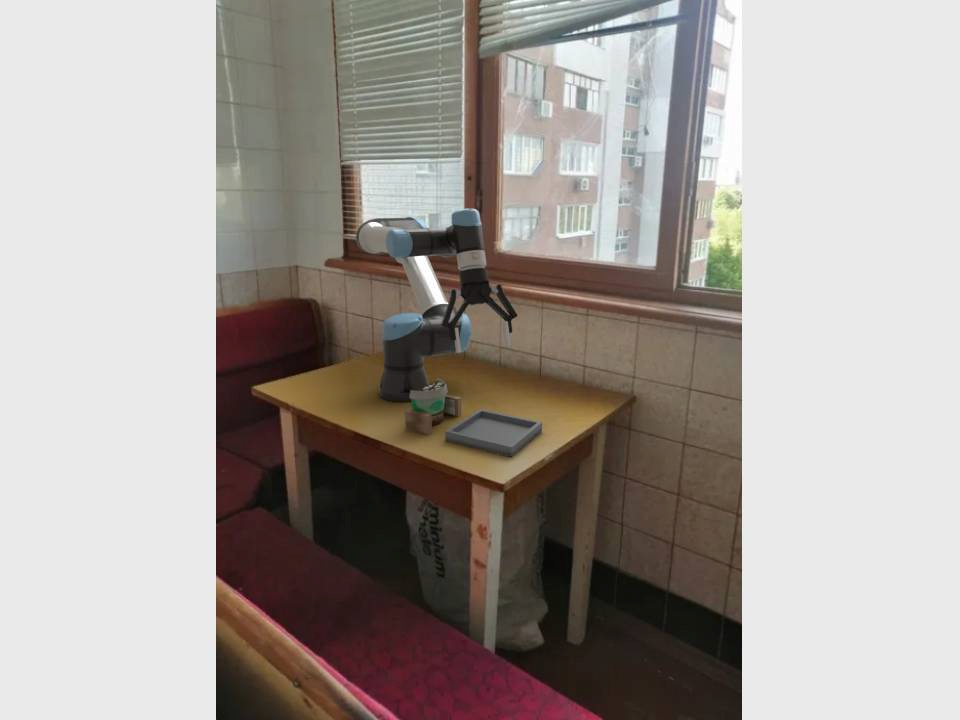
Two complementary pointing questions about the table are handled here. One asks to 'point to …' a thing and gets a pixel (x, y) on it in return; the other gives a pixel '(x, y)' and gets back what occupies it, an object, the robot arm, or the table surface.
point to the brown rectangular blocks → (424, 420)
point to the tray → (494, 432)
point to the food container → (430, 400)
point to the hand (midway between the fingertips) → (483, 349)
